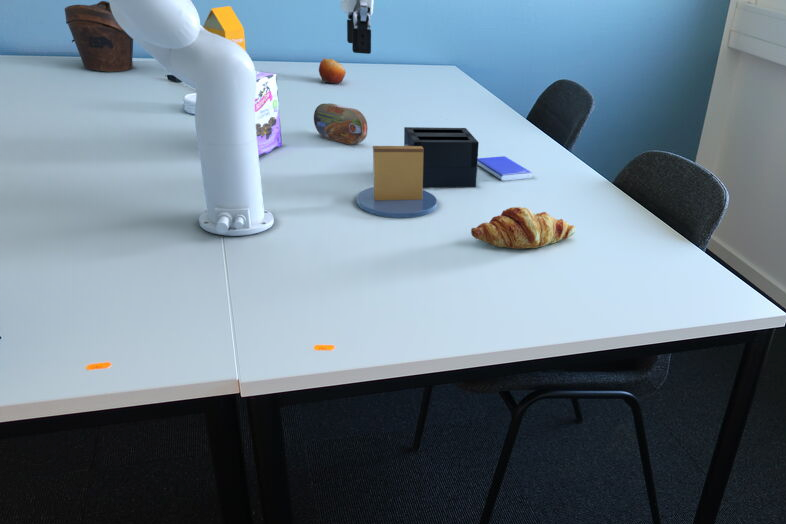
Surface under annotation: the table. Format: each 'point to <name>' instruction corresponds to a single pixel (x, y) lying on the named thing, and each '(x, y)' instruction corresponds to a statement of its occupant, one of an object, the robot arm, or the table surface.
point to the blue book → (504, 168)
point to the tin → (340, 123)
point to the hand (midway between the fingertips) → (358, 48)
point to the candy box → (267, 113)
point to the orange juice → (225, 25)
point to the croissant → (522, 229)
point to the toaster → (445, 155)
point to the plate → (396, 205)
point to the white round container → (190, 103)
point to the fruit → (331, 71)
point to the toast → (398, 172)
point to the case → (99, 37)
